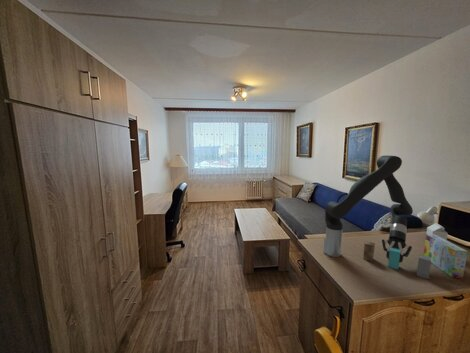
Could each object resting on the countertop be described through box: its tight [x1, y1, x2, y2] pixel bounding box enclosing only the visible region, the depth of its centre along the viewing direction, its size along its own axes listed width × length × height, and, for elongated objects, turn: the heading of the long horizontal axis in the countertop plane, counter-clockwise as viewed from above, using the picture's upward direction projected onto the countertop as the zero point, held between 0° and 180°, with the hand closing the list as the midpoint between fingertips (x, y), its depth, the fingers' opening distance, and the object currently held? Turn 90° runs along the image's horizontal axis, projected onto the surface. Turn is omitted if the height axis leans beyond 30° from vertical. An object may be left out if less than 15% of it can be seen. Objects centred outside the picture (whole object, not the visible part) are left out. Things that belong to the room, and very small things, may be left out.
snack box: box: [423, 234, 469, 279], centre depth 111 cm, size 21×6×15 cm, turn 168°
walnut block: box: [362, 240, 376, 262], centre depth 120 cm, size 4×4×10 cm
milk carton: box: [425, 222, 448, 241], centre depth 127 cm, size 7×7×19 cm
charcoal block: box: [416, 254, 432, 280], centre depth 104 cm, size 4×4×10 cm
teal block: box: [387, 248, 401, 270], centre depth 112 cm, size 4×4×10 cm
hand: (394, 260), depth 111 cm, fingers closed on teal block, 4 cm apart
